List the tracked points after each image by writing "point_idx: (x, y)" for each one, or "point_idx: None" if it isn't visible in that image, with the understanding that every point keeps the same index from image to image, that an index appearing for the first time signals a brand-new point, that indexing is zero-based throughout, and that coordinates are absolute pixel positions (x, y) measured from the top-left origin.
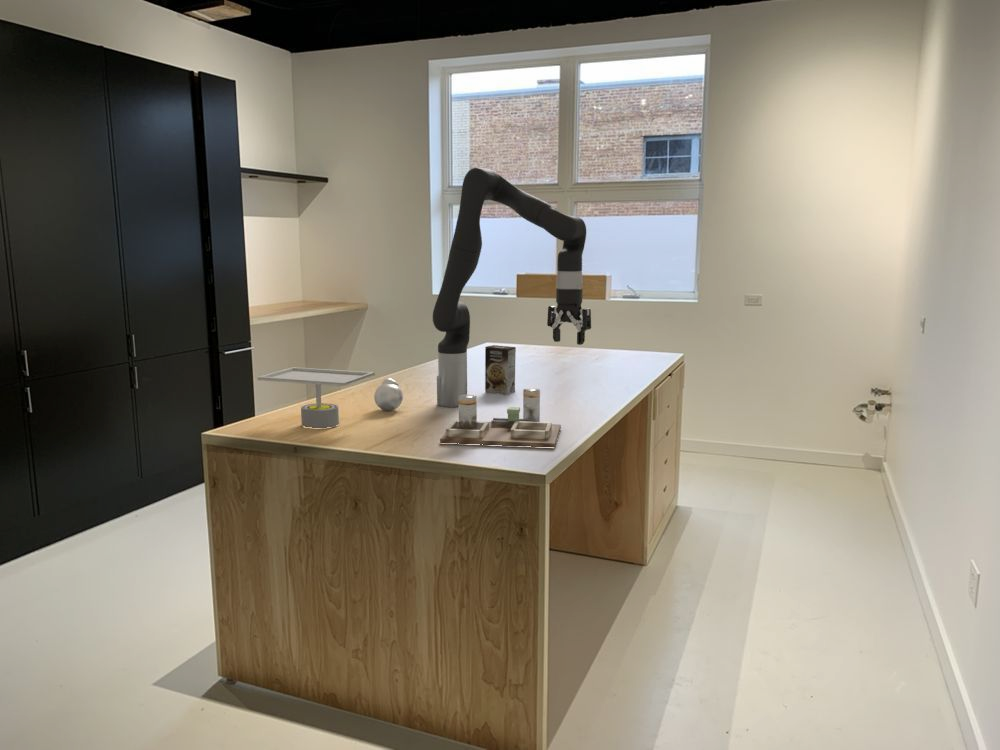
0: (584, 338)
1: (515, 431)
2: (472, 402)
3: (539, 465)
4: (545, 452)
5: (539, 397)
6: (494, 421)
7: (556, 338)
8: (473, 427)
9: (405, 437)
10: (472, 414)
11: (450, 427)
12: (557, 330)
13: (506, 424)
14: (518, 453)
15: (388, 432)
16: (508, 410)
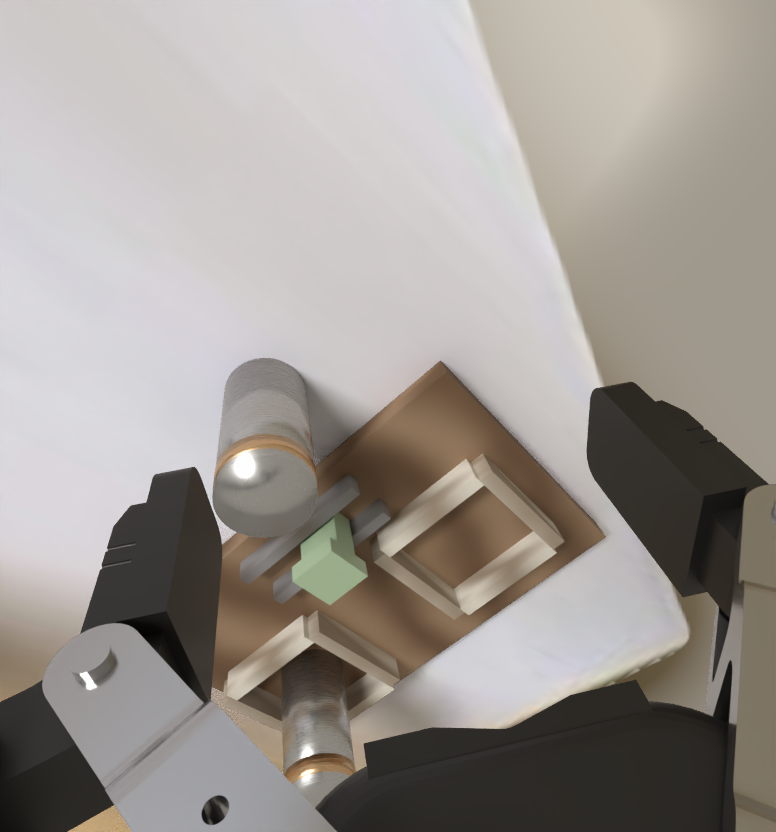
0: (707, 436)
1: (470, 609)
2: None
3: (650, 618)
4: (594, 557)
5: (306, 448)
6: (291, 595)
7: (213, 562)
8: (344, 686)
9: None
10: (350, 733)
11: None
12: (199, 654)
13: None
14: (541, 612)
15: None
16: (334, 598)
